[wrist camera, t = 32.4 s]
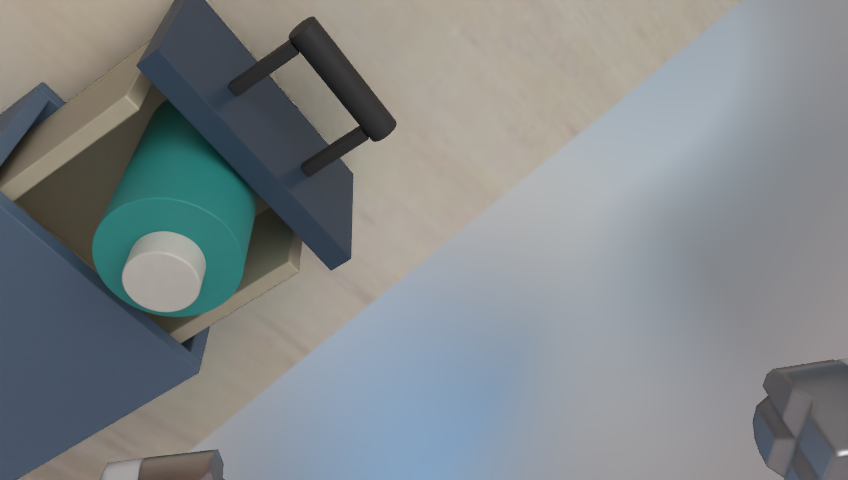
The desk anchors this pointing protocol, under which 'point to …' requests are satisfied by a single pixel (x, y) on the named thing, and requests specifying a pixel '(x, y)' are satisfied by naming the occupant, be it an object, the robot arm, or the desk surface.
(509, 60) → the desk surface
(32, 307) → the cabinet
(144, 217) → the detergent bottle
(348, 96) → the drawer
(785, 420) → the robot arm
